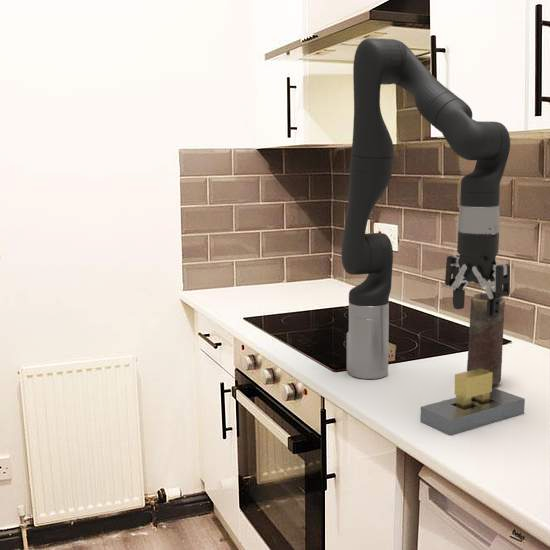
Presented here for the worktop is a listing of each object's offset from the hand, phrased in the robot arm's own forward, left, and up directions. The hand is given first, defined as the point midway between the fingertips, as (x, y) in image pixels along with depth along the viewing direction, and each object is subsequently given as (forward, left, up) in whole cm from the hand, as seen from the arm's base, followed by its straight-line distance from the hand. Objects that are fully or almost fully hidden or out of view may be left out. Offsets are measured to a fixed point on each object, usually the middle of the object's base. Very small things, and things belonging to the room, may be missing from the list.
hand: (475, 313), depth 135 cm
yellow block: (+1, -1, -20) cm, 20 cm away
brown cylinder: (-12, +16, -21) cm, 29 cm away
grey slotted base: (+1, -1, -21) cm, 21 cm away
